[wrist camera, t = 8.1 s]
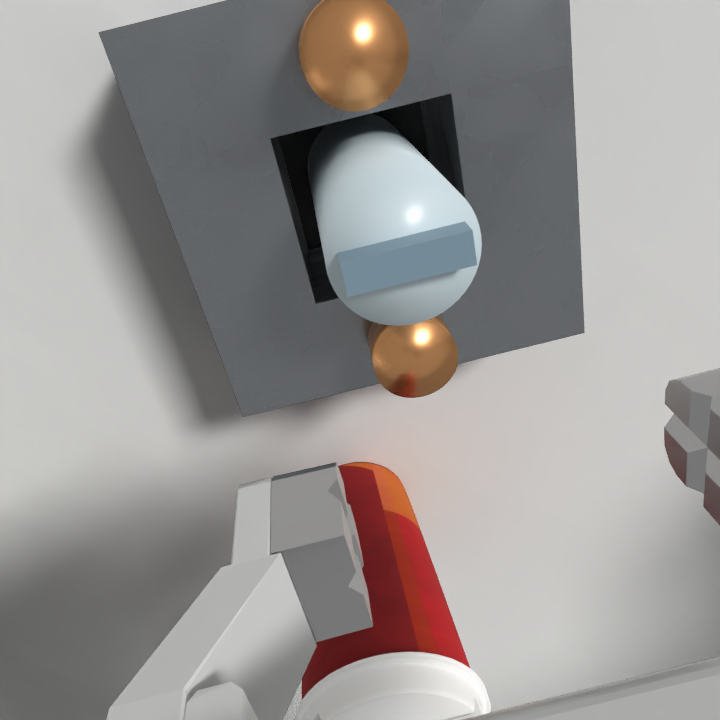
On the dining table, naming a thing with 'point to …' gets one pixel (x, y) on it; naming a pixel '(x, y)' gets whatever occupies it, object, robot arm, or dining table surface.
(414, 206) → the cartridge
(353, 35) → the copper dome knob
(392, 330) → the copper knob
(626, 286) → the dining table surface
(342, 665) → the paper cup
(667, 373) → the dining table surface
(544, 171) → the housing
